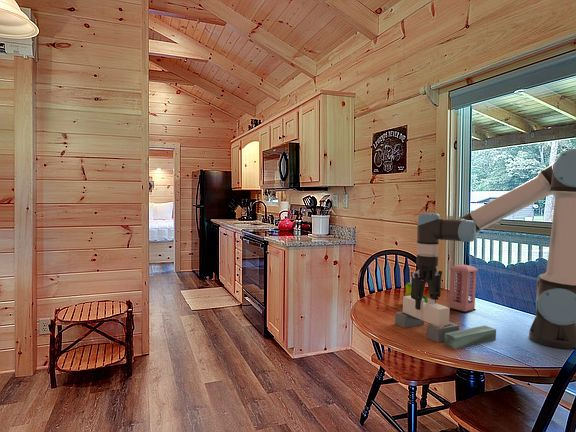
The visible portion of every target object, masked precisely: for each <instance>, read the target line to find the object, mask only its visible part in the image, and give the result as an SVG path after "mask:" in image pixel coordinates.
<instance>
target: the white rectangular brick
mask: <svg viewBox="0 0 576 432" xmlns="http://www.w3.org/2000/svg"><path fill="white" fill-rule="evenodd" d="M422 301H423V319H420V318H418V319H420V320H423V321H424V323H429V324H431V325H433V326H436V327H438V328H441V327H444V326H447V325H449V322H450V312H451V311H450V310H451V309H450V308H448V307H449V306H445V305H442V304H440V303H437V302H436V303H435V304H428V302H427V303H425V299H422ZM402 311H403V312H404V313H406V314H408V315H411V316H413V317H416V308H415V300H414V299H412V298H411V296H406V295H405V296H403V298H402ZM416 318H417V317H416Z"/></svg>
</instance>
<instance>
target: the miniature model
mask: <svg viewBox="0 0 576 432" xmlns="http://www.w3.org/2000/svg"><path fill="white" fill-rule="evenodd" d="M449 270H450V278H449V279H450V281H449V297H448V306H447V307H448V308H450V310H453V311H456V312H457V311H458V312H462V313H466V314H467V313H470V312H473V311H476V310H477V309H476V306H475V305H476V304H475V303H476V287H477V273H478V271H479V270H478V268H477V267H475V266H472V265H468V264H457V265H453V266H451V267H450V268H449Z"/></svg>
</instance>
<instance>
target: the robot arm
mask: <svg viewBox="0 0 576 432" xmlns="http://www.w3.org/2000/svg"><path fill="white" fill-rule="evenodd" d="M548 196H553V197H554V205H553V215H552V222H551V223H552V224H551V229H550V240H549V247H548V253H547V254H548V256H547V265H546V271H545V273H541V274H539V275H537V278H536V298H535V299H536V301H535V304H536V305H535V316H534V319H533V321H532V323H531V325H530V328H529V331H528V337H529V339H530V340H531V341H532V342H533V341H534V342H535V343H538V344H539V345H543V346H547V347H551V348H556V349H564V350H575V348H576V147H575V148H570V149H566V150H565V151H562V152H561V153H560V154H559V155H557V156H556V158H555V159H554V161H553V163H551V164H550V165H548V166H547V167H545V168H544V169H542V170H540V171H538V174H537V176H535V177H533V178H531V179H530V180H528V181H526V182H524V183H522V184H521V185H519V186H517V187H514V188H513V189H511V190H510V191H507V192H506V193H504V194H502V195H500V196H499V197H496V198H495V199H492V200H491V201H489V202H487V203H485V204H484V205H482V206H480V207H478V208H476V209H474V210H472V211H470V212H469V213H467V214H465V215H463V216H461V217H459V218H457V219H445V218H441V216H440V214H439V213H434V212H421V213H419V214H418V216H417V217H418V220H417V224H416V227H417V228H416V229H417V231H416V233H417V237H416V254H417V255H416V261H415V262H416V266H417V269H416V271H414V272H411V273H410V277H411V283H412V284H411V298H412V299H414V300H415V308H416V317H417V318H420V319H423V301H422V297H423V295H424V291H425V287H426V284H427V289H428V294H429V297H427V298H428V301H427V303H428V304H435V303H437V301H438V300H439V298H441V291H442V290H441V289H442V284H441V283H442V275H443V271H442V270H439V269H437V267H438V265H439V257H438V255H439V248H440V247H439V246H440V245H439V241H455V242H461V243H465V242H469V243H470V242H474V241H475V240H476V236H477V235H476V234H477V233H478V232H480V231H482V230H484V229H486V228H487V227H490V226H492V225H493V224H495V223H497V222H499V221H502V220H503V219H505V218H507V217H509V216H511V215H514V214H516V213H517V212H519V211H522V210H523V209H526V208H527V207H529V206H531V205H533V204H535V203H537V202H539V201H541V200H543V199H544V198H546V197H547V198H548ZM573 348H574V349H573Z"/></svg>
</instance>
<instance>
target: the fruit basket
mask: <svg viewBox="0 0 576 432" xmlns="http://www.w3.org/2000/svg"><path fill="white" fill-rule="evenodd" d="M411 284H412V281H411V282H406V284H405V296H411ZM428 298H429V297H427V296H426V295H424V294H423V297H422V299H425V303H428Z"/></svg>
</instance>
